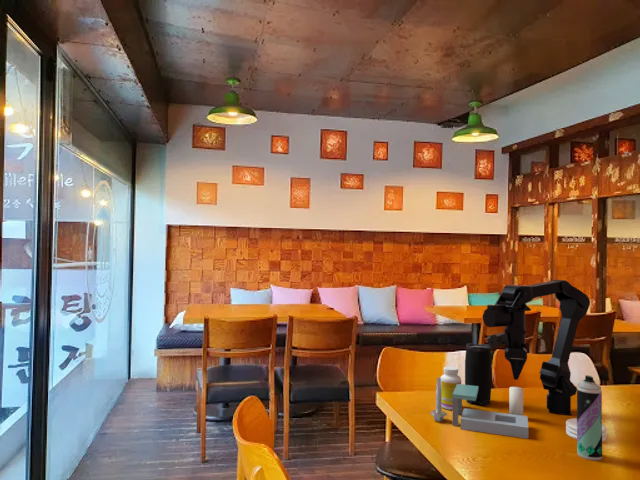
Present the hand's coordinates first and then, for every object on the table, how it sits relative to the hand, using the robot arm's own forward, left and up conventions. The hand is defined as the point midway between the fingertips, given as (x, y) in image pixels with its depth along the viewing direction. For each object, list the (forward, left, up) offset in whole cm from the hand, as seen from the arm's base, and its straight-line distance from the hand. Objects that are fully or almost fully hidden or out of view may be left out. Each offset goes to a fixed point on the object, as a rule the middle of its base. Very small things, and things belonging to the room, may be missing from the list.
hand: (515, 375), depth 148 cm
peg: (0, 0, -13) cm, 13 cm away
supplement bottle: (+20, -2, -13) cm, 24 cm away
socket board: (+6, +12, -13) cm, 19 cm away
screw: (+22, +12, -13) cm, 28 cm away
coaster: (-18, +8, -13) cm, 24 cm away
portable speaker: (+12, -11, -13) cm, 21 cm away
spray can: (-17, +23, -13) cm, 31 cm away
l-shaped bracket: (+14, +9, -13) cm, 21 cm away
